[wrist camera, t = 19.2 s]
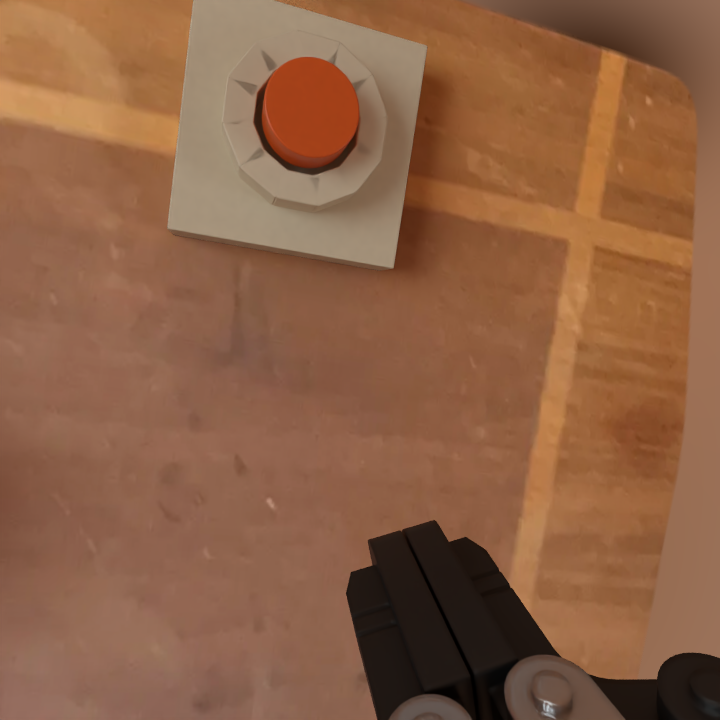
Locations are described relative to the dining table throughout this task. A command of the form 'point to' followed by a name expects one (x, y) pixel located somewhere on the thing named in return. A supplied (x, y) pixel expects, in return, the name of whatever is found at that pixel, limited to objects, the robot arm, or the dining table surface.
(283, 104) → the button
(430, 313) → the dining table surface
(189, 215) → the control block
